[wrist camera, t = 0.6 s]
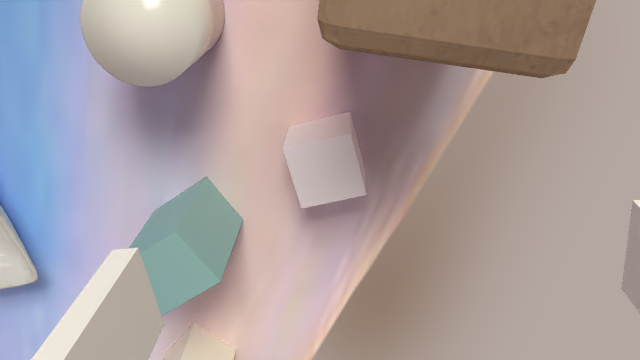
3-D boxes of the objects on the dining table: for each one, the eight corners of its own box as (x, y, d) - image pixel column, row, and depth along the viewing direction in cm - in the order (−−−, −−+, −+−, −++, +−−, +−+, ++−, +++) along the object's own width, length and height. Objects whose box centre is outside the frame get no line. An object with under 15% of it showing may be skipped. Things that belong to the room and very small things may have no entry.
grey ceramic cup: (110, -2, 39) (55, 14, 31) (181, -63, 37) (140, -60, 29) (174, 76, 41) (136, 107, 34) (244, 23, 39) (220, 45, 32)
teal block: (154, 210, 46) (113, 270, 38) (206, 176, 44) (174, 231, 36) (192, 251, 48) (159, 317, 40) (243, 219, 46) (220, 281, 38)
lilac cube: (289, 125, 42) (282, 149, 38) (350, 110, 41) (350, 133, 37) (306, 180, 44) (301, 208, 40) (364, 167, 43) (366, 194, 39)
